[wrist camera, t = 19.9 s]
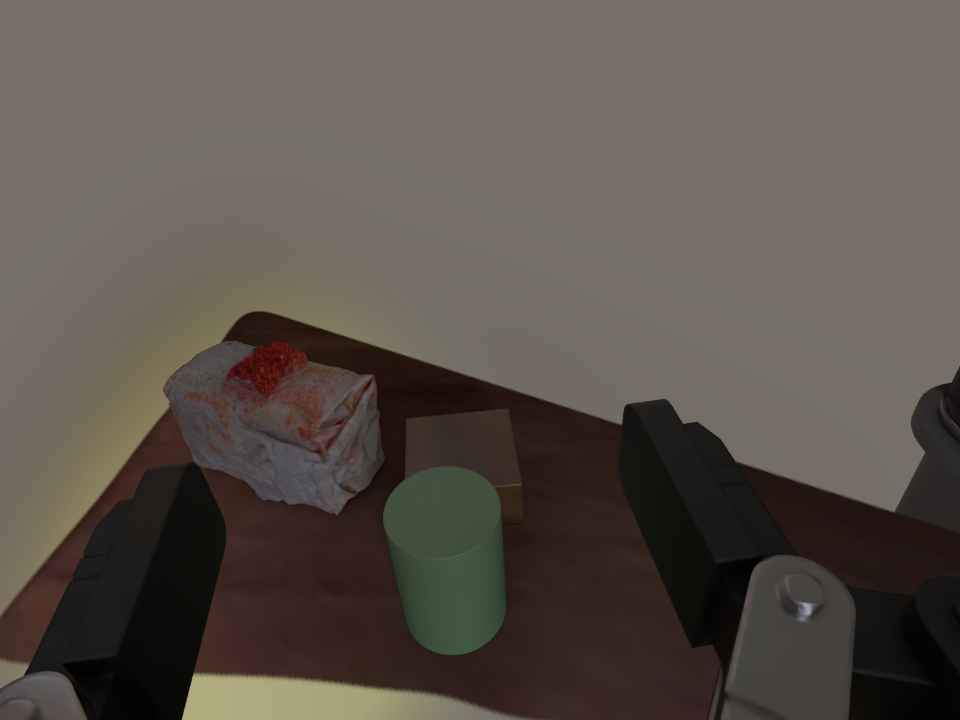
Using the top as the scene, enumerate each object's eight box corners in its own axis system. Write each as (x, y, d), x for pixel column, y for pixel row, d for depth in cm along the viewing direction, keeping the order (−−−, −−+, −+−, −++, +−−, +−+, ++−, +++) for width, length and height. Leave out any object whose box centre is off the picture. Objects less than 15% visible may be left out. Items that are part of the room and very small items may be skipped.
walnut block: (509, 445, 43) (508, 408, 41) (523, 523, 37) (522, 484, 35) (412, 455, 43) (405, 418, 41) (411, 534, 37) (403, 496, 35)
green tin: (449, 546, 36) (435, 450, 32) (526, 594, 33) (524, 496, 29) (383, 617, 33) (357, 521, 28) (463, 677, 30) (449, 581, 25)
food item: (407, 455, 43) (387, 340, 37) (345, 542, 37) (310, 421, 31) (257, 413, 48) (218, 306, 42) (181, 484, 42) (124, 371, 36)
